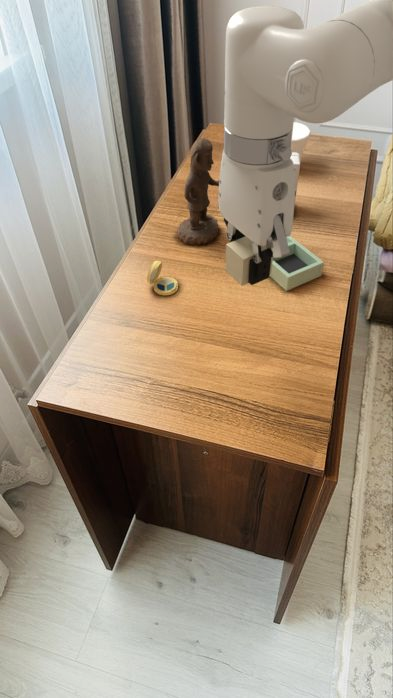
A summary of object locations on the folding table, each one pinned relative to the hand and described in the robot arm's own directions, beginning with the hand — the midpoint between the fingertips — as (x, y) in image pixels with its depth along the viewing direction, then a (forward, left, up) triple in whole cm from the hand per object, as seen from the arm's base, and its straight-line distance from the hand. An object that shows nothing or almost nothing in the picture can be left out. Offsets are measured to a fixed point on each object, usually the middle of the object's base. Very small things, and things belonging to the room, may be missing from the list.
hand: (248, 270), depth 69 cm
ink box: (+30, -28, -15) cm, 44 cm away
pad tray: (+15, -18, -15) cm, 28 cm away
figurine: (+31, -10, -15) cm, 36 cm away
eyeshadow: (+20, +4, -15) cm, 25 cm away
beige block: (0, 0, 0) cm, 0 cm away
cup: (+43, -41, -15) cm, 61 cm away
